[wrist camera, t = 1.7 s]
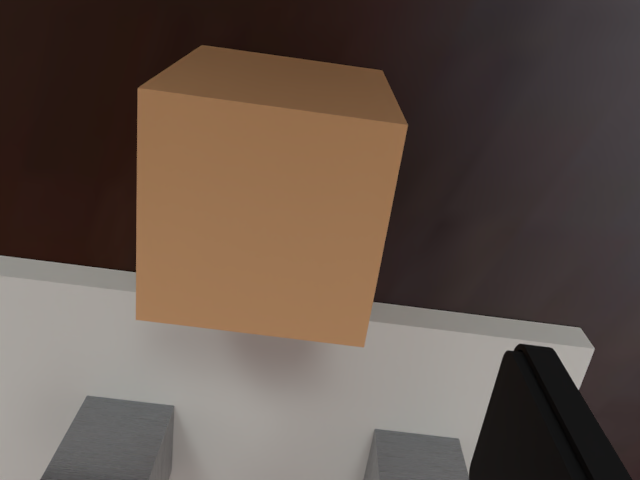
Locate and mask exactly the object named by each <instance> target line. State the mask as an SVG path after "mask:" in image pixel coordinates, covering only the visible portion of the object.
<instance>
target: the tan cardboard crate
mask: <svg viewBox="0 0 640 480" xmlns="http://www.w3.org/2000/svg"><path fill="white" fill-rule="evenodd" d="M407 128H408V124H407V122H406V120H405V118H404V115H403V113H402V111H401V109H400V107H399V105H398V103H397V100H396V98H395V96H394V94H393V92H392V90H391V88H390V86H389V83H388V81H387V79H386V77H385V75H384V73H383V71H382V70H377V69H370V68H363V67H356V66H348V65H341V64H334V63H327V62H320V61H313V60H306V59H299V58H292V57H284V56H277V55H270V54H263V53H256V52H249V51H242V50H235V49H228V48H220V47H213V46H206V45H201V46H200V47H198V48H197V49H195V50H194V51H192V52H191V53H189V54H188V55H186V56H185V57H183V58H182V59H180V60H179V61H177V62H176V63H174V64H173V65H171V66H170V67H168V68H167V69H165V70H164V71H162V72H161V73H159V74H158V75H156V76H155V77H153V78H152V79H150V80H149V81H147V82H146V83H144V84H143V85H141V86H140V87H138V104H137V222H136V320H141V321H150V322H158V323H166V324H174V325H183V326H191V327H199V328H207V329H216V330H224V331H232V332H240V333H249V334H257V335H265V336H273V337H282V338H290V339H298V340H306V341H315V342H323V343H331V344H339V345H348V346H356V347H364V345H365V340H366V335H367V330H368V325H369V320H370V315H371V310H372V305H373V300H374V295H375V290H376V284H377V279H378V274H379V269H380V264H381V259H382V254H383V249H384V244H385V239H386V234H387V229H388V224H389V219H390V214H391V209H392V203H393V198H394V193H395V188H396V183H397V178H398V173H399V168H400V163H401V158H402V153H403V148H404V143H405V138H406V133H407Z"/></svg>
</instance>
